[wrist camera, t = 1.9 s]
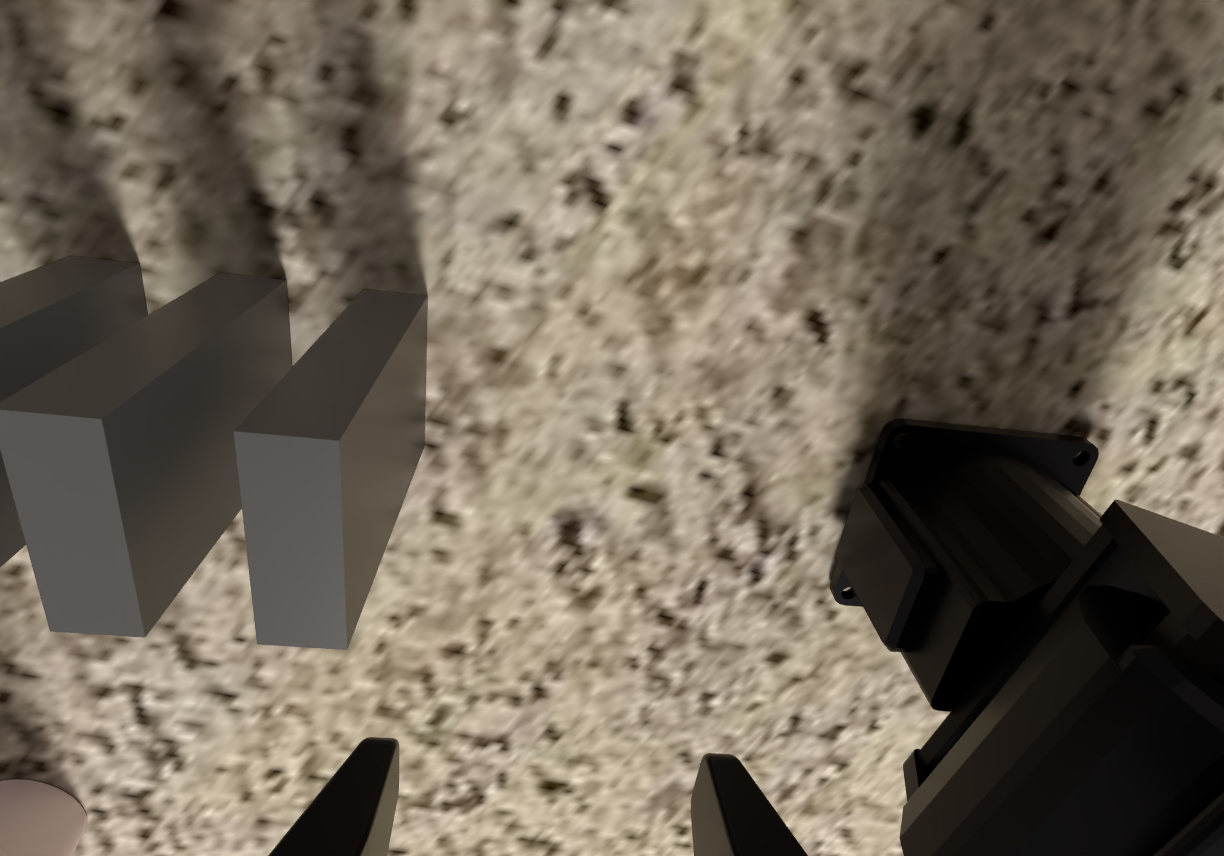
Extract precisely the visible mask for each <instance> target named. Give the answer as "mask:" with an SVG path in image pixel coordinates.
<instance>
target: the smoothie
mask: <svg viewBox="0 0 1224 856" xmlns="http://www.w3.org/2000/svg"><path fill="white" fill-rule="evenodd" d="M86 825H87V816H86V813H85V811H84V809H83V807H82V806H81V805H80V804H79V803H78V801H76V800H75V799H74V798H73V797H72V796H70V795H69V794H67V793H66V792H64V791H62V790H60V789H58V788H56V787H54V786H51V785H48V784H45V783H42V782H37V781H32V780H22V779H13V780H4V781H0V856H72V855H73V853H74V851H75V849H76V847H77V845H78V843H79V841H80V838H81V836H82V834H83V832H84V830H85V828H86Z"/></svg>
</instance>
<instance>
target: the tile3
mask: <svg viewBox="0 0 1224 856" xmlns="http://www.w3.org/2000/svg"><path fill="white" fill-rule="evenodd" d="M147 315H148V313H147V307H146V300H145V294H144V287H143V281H142V275H141V268H140V263H132V262H123V261H114V260H105V259H96V258H88V257H79V256H68V257H65V258H63V259H60V260H58V261H55V262H52V263H50V264H47V265H45V266H42V267H39V268H37V269H34V270H32V271H29V272H26V273H24V274H21V275H18V276H16V277H13V278H11V279H8V280H5V281H3V282H0V402H1V401H3V400H5V399H6V398H8V397H10V396H11V395H13V394H15V393H17V392H18V391H20V390H22V389H23V388H25V387H27V386H28V385H30V384H32V383H34V382H35V381H37V380H39V379H40V378H42V377H44V376H45V375H47V374H49V373H51V372H52V371H54V370H56V369H57V368H59V367H61V366H62V365H64V364H66V363H68V362H69V361H71V360H73V359H74V358H76V357H78V356H79V355H81V354H83V353H84V352H86V351H88V350H90V349H91V348H93V347H95V346H96V345H98V344H100V343H101V342H103V341H105V340H107V339H108V338H110V337H112V336H113V335H115V334H117V333H118V332H120V331H122V330H124V329H125V328H127V327H129V326H130V325H132V324H134V323H135V322H137V321H139V320H141V319H142V318H144V317H146V316H147ZM25 545H26V542H25V538H24V534H23V531H22V527H21V523H20V520H19V516H18V512H17V509H16V505H15V501H14V498H13V494H12V491H11V487H10V483H9V480H8V476H7V472H6V469H5V465H4V461H3V458H2V454H1V450H0V567H1V566H2V565H3V564H5V563H6V562H7V561H8V560H9V559H10V558H11V557H12V556H14V555H15V554H16V553H17V552H18V551H19V550H20V549H22V548H23V547H24V546H25Z"/></svg>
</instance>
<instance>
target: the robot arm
mask: <svg viewBox="0 0 1224 856" xmlns="http://www.w3.org/2000/svg"><path fill="white" fill-rule="evenodd" d="M901 433H906V436H905V437H904V439H903V440H901V441H899V442H894V440H895V438H896V437H897V436H898V435H899V434H901ZM1080 451H1081V453H1080V454H1079V456H1078V457H1076V458H1074V459H1073V457H1074V456H1075V455H1076V454H1077V453H1078V452H1080ZM1098 455H1099V453H1098V449H1097V448H1096V447H1095V446H1094V445H1093V444H1092V443H1091V442H1089V441H1088V440H1086V439H1085V438H1081V437H1075V436H1065V435H1056V434H1046V433H1036V432H1026V431H1017V430H1007V429H997V428H988V427H978V426H968V425H958V424H949V423H939V422H929V421H920V420H910V419H896V420H893V421H891V422H889V423H888V424H887V425H886V426H885V427H884V428H883V430H882V432H881V434H880V437H879V440H878V443H877V446H876V449H875V452H874V455H873V458H872V461H871V464H870V467H869V470H868V473H867V476H866V479H865V482H864V484H862V485H861V486H860V487H859V488H858V489H857V491H856V494H855V497H854V500H853V503H852V506H851V509H850V512H849V515H848V518H847V521H846V524H845V527H844V530H843V533H842V536H841V539H840V542H839V545H838V548H837V551H836V557H837V559H838V562H837V565H836V568H835V571H834V574H833V577H832V580H831V583H830V590H831V592H832V594H833V596H834V599H835V601H836V602H838V603H839V604H842V605H848V606H861V607H864V609H865V611H866V613H867V615H868V616H869V618H870V620H871V622H872V624H873V626H874V628H875V629H876V631H877V633H878V635H879V637H880V639H881V640H882V642H883V644H884V645H885V646H886V647H887V649H888V650H889V651H892V652H901V654H902V655H903V657H904V659H905V661H906V662H907V664H908V666H909V668H910V670H911V671H912V673H913V675H914V677H915V678H916V680H917V682H918V684H919V686H920V687H921V689H922V691H923V693H924V694H925V696H926V698H927V700H928V702H929V703H930V705H931V707H932V708H933V709H935V710H938V711H951V712H950V714H949V715H948V716H947V717H946V719H945V720H944V721H943V722H942V723H941V725H940V726H939V727H938V728H937V730H936V731H935V732H934V733H933V735H932V736H931V737H930V738H929V740H928V741H927V742H926V743H925V745H924V746H923V747H922V748H921V750H920V749H915V750H914V751H913V752H912V754H911V755H910V756H909V757H908V759H907V760H906V761H905V762H904V764H903V770H904V778H905V786H906V795H907V803H906V805H905V806H904V807H903V815H902V823H901V832H900V841H901V846H902V850H903V854H904V856H1224V537H1221V536H1218V535H1215V534H1212V533H1210V532H1207V531H1204V530H1201V529H1198V528H1195V527H1193V526H1190V525H1187V524H1184V523H1181V522H1179V521H1176V520H1173V519H1170V518H1167V517H1165V516H1162V515H1159V514H1156V513H1153V512H1151V511H1148V510H1145V509H1142V508H1139V507H1136V506H1134V505H1131V504H1128V503H1125V502H1122V501H1120V500H1114V501H1113V503H1112V504H1111V505H1110V506H1109V508H1108V509H1107V510H1106V511H1105V513H1104V514H1103V515H1101V514H1100V513H1099V512H1097V511H1096V510H1095V509H1094V508H1093V507H1091V506H1090V505H1089V504H1088V503H1087V502H1086V501H1084V500H1083V499H1082V498H1081V497H1080V494H1081V492H1082V490H1083V487H1084V485H1085V483H1086V481H1087V479H1088V477H1089V475H1090V473H1091V471H1092V469H1093V467H1094V465H1095V463H1096V461H1097V459H1098ZM847 587H851V589H849V590H847V591H843V590H844V589H845V588H847ZM398 791H399V743H398V741H397V740H396V739H393V738H377V737H369V738H366V739H364V740H363V741H362V742H361V743H360V744H359V745H358V746H357V747H356V749H355V750H354V751H353V752H352V753H351V755H350V756H349V757H348V758H347V760H346V761H345V762H344V763H343V765H342V766H341V767H340V768H339V769H338V771H337V772H336V773H335V774H334V776H333V777H332V778H331V779H330V781H329V782H328V783H327V784H326V785H325V787H324V788H323V789H322V790H321V792H320V793H319V794H318V795H317V796H316V798H315V799H314V800H313V801H312V803H311V804H310V805H309V806H308V808H307V809H306V810H305V811H304V812H303V814H302V815H301V816H300V817H299V819H298V820H297V821H296V822H295V823H294V825H293V826H292V827H291V828H290V830H289V831H288V832H287V833H286V835H285V836H284V837H283V838H282V839H281V841H280V842H279V843H278V844H277V846H276V847H275V848H274V849H273V850H272V852H271V853H270V854H269V855H268V856H387V853H388V848H389V842H390V837H391V831H392V826H393V821H394V815H395V810H396V804H397V798H398ZM691 820H692V834H693V847H694V856H808V855H807V854H806V852H805V851H804V850H803V848H802V847H801V845H800V844H799V843H798V841H797V840H796V838H795V837H794V836H793V834H792V833H791V832H790V830H789V829H788V827H787V826H786V825H785V823H784V822H783V820H782V819H781V818H780V816H779V815H778V813H777V812H776V811H775V809H774V808H773V806H772V805H771V804H770V802H769V801H768V800H767V798H766V797H765V795H764V794H763V793H762V791H761V790H760V788H759V787H758V786H757V784H756V783H755V781H754V780H753V779H752V777H751V776H750V774H749V773H748V772H747V770H746V769H745V768H744V766H743V765H742V763H741V762H740V761H739V759H738V758H737V757H735V756H733V755H730V754H714V753H708V754H705V755H704V756H703V758H702V760H701V763H700V767H699V771H698V774H697V778H696V782H695V785H694V789H693V793H692V798H691Z"/></svg>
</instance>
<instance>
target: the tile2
mask: <svg viewBox="0 0 1224 856" xmlns="http://www.w3.org/2000/svg"><path fill="white" fill-rule="evenodd" d="M291 368H292V354H291V339H290V324H289V309H288V294H287V280H281V279H272V278H263V277H255V276H246V275H237V274H229V273H219V274H217V275H215V276H214V277H212V278H210V279H208V280H207V281H205V282H203V283H202V284H200V285H198V286H197V287H195V288H193V289H191V290H190V291H188V292H186V293H185V294H183V295H181V296H180V297H178V298H176V299H175V300H173V301H171V302H169V303H168V304H166V305H164V306H163V307H161V308H159V309H158V310H156V311H154V312H152V313H151V314H149V315H147V316H146V317H144V318H142V319H141V320H139V321H137V322H135V323H134V324H132V325H130V326H129V327H127V328H125V329H124V330H122V331H120V332H118V333H117V334H115V335H113V336H112V337H110V338H108V339H107V340H105V341H103V342H101V343H100V344H98V345H96V346H95V347H93V348H91V349H90V350H88V351H86V352H84V353H83V354H81V355H79V356H78V357H76V358H74V359H73V360H71V361H69V362H68V363H66V364H64V365H62V366H61V367H59V368H57V369H56V370H54V371H52V372H51V373H49V374H47V375H45V376H44V377H42V378H40V379H39V380H37V381H35V382H34V383H32V384H30V385H28V386H27V387H25V388H23V389H22V390H20V391H18V392H17V393H15V394H13V395H11V396H10V397H8V398H6V399H5V400H3V401H1V402H0V450H1V454H2V458H3V461H4V465H5V469H6V472H7V476H8V480H9V483H10V487H11V491H12V494H13V498H14V501H15V505H16V509H17V512H18V516H19V520H20V523H21V527H22V531H23V534H24V538H25V542H26V545H27V549H28V553H29V556H30V560H31V563H32V567H33V571H34V574H35V578H36V582H37V585H38V589H39V593H40V596H41V600H42V604H43V607H44V611H45V615H46V618H47V622H48V625H49V629H50V631H53V632H68V633H84V634H99V635H115V636H130V637H146V636H147V634H148V633H149V632H150V630H151V629H152V628H153V626H154V625H155V624H156V622H157V621H158V620H159V618H160V617H161V616H162V614H163V613H164V612H165V610H166V609H167V608H168V606H169V605H170V604H171V602H172V601H173V600H174V598H175V597H176V596H177V594H178V593H179V592H180V590H181V589H182V587H183V586H184V585H185V583H186V582H187V581H188V579H189V578H190V577H191V575H192V574H193V573H194V571H195V570H196V569H197V567H198V566H199V565H200V563H201V562H202V561H203V559H204V558H205V557H206V555H207V554H208V553H209V551H210V550H211V549H212V547H213V546H214V545H215V543H216V542H217V541H218V539H219V538H220V537H221V535H222V534H223V533H224V531H225V530H226V529H227V527H228V526H229V525H230V523H231V522H232V521H233V519H234V518H235V517H236V515H237V514H238V513H239V511H240V510H241V509H242V502H241V493H240V484H239V475H238V466H237V457H236V448H235V439H234V430H235V429H236V428H237V427H238V426H239V425H240V424H241V423H242V422H243V420H244V419H245V418H246V417H247V416H248V415H249V414H250V413H251V412H252V411H253V410H254V408H255V407H256V406H257V405H258V404H259V403H260V402H261V401H262V400H263V399H264V398H265V396H266V395H267V394H268V393H269V392H270V391H271V390H272V389H273V388H274V387H275V385H276V384H277V383H278V382H279V381H280V380H281V379H282V378H283V377H284V376H285V375H286V373H287V372H288V371H289V370H290V369H291Z"/></svg>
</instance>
